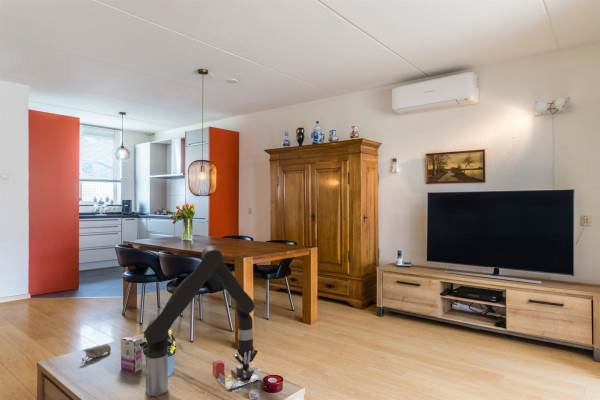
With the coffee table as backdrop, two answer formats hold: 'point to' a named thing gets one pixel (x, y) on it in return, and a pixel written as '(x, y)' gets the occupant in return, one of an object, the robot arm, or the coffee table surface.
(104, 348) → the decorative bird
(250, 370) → the toggle
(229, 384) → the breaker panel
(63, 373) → the coffee table surface
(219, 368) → the cap
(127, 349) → the candy bar box
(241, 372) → the toggle
